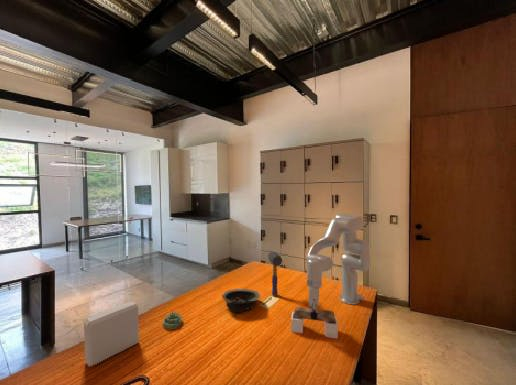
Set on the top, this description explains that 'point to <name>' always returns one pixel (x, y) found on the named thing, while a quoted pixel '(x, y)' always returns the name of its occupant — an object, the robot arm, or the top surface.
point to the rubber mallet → (274, 270)
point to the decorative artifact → (172, 321)
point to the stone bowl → (240, 299)
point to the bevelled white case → (110, 332)
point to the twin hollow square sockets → (330, 328)
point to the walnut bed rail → (321, 314)
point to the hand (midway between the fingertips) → (314, 314)
